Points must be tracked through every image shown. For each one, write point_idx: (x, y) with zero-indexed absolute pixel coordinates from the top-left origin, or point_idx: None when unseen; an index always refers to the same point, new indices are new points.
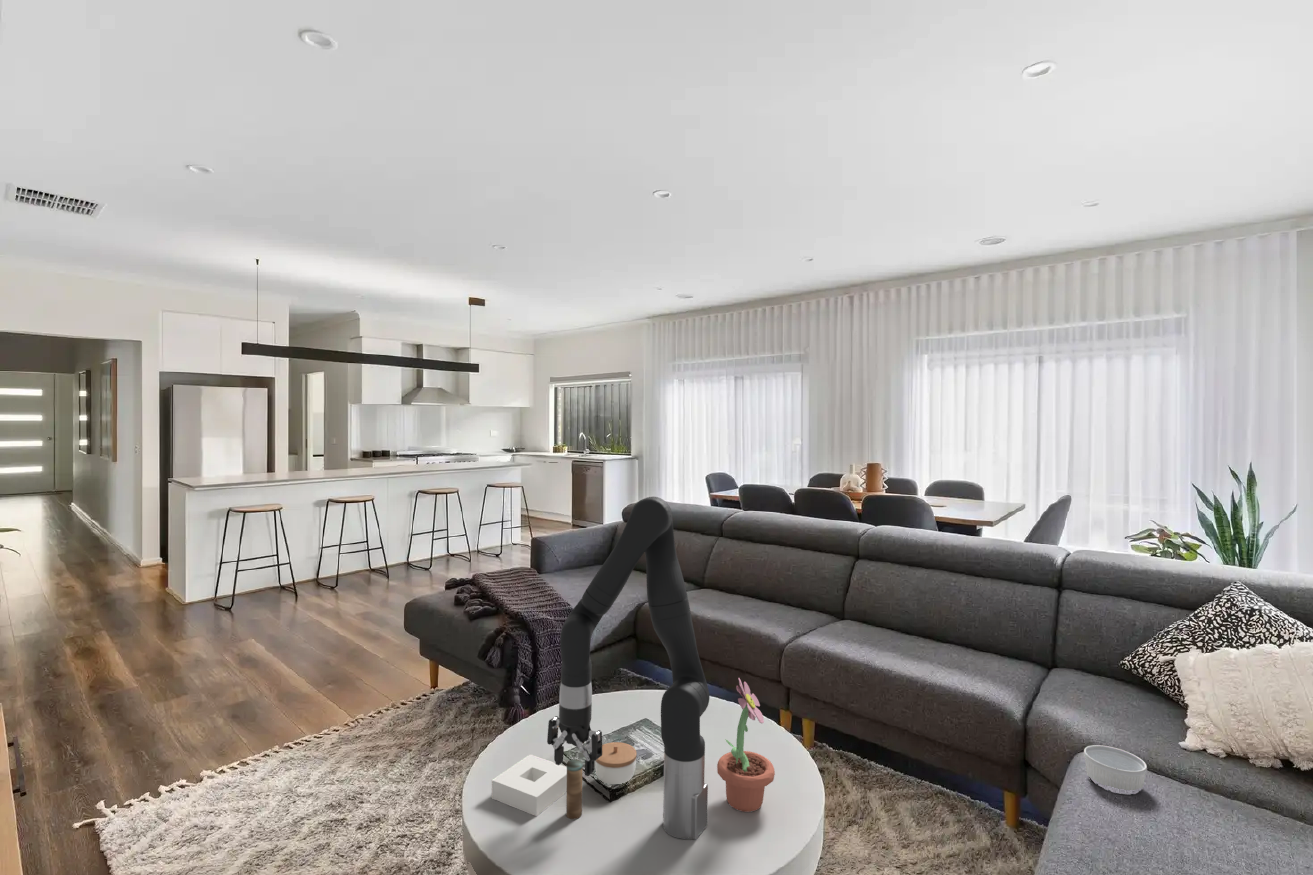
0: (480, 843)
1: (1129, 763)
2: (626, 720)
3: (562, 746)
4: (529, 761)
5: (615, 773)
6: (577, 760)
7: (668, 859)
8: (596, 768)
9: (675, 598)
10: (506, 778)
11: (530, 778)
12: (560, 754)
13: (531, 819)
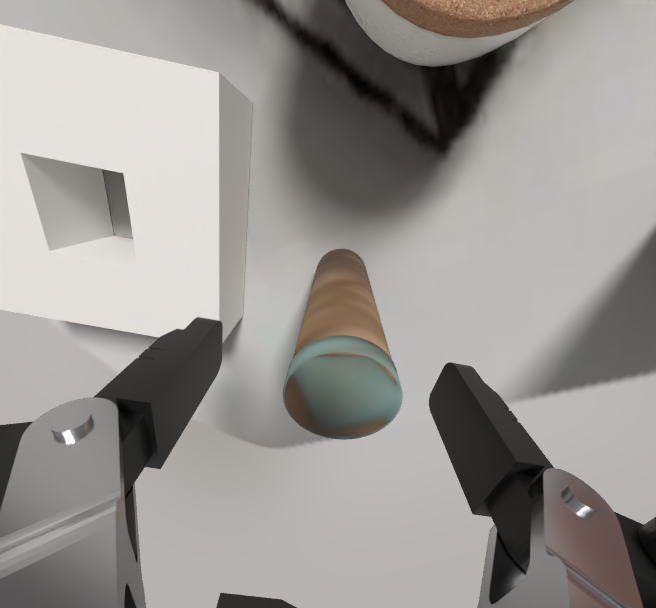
0: (196, 420)
1: None
2: None
3: (137, 406)
4: None
5: (513, 38)
6: (343, 360)
7: (651, 360)
8: (358, 7)
9: None
10: (26, 282)
11: (74, 168)
12: (188, 394)
13: (238, 329)
